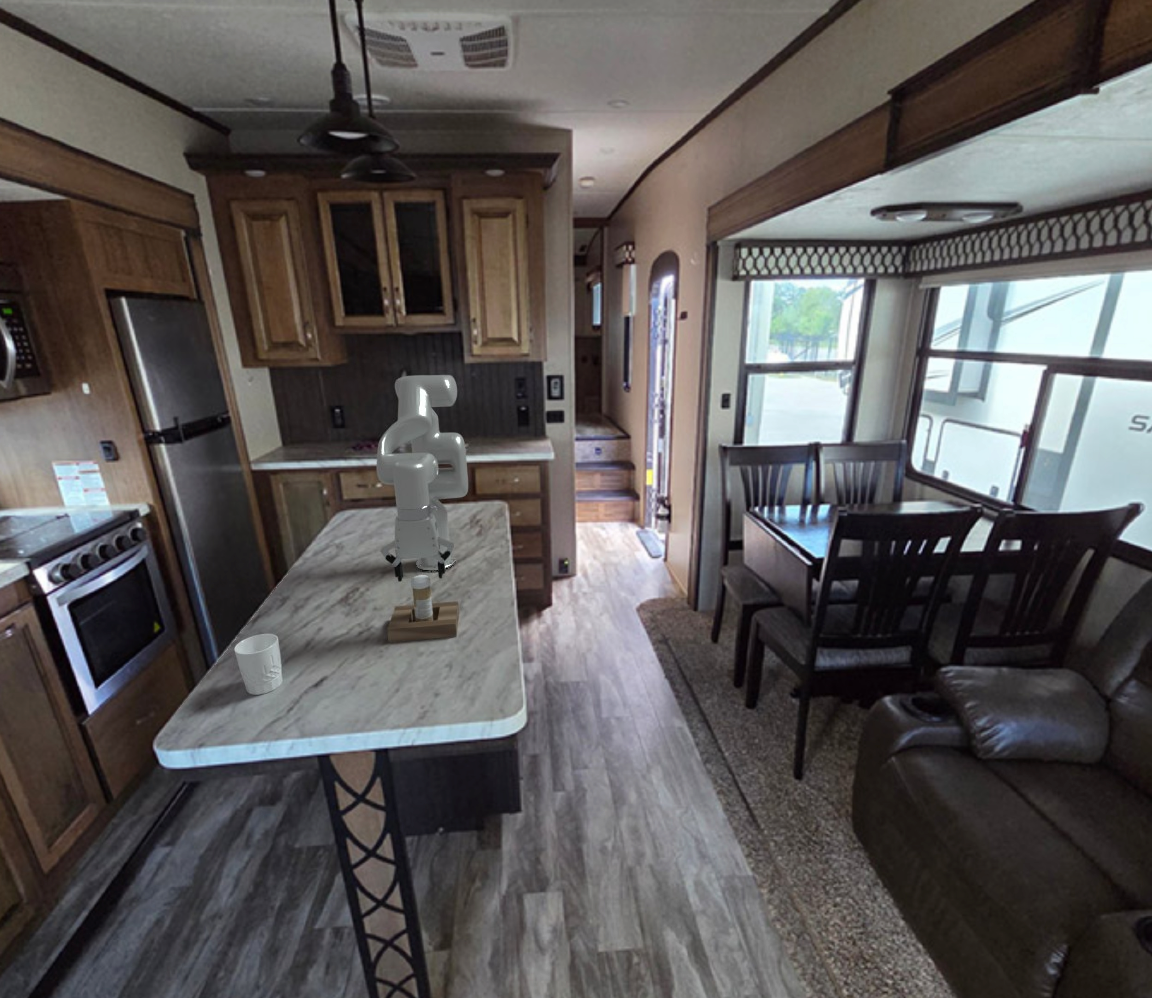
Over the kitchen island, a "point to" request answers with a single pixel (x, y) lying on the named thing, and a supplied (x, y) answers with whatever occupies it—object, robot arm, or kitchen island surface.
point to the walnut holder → (424, 623)
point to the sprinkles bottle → (422, 598)
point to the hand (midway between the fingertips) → (420, 577)
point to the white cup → (260, 663)
